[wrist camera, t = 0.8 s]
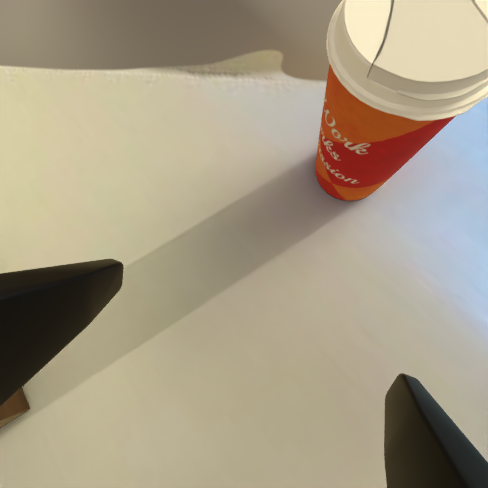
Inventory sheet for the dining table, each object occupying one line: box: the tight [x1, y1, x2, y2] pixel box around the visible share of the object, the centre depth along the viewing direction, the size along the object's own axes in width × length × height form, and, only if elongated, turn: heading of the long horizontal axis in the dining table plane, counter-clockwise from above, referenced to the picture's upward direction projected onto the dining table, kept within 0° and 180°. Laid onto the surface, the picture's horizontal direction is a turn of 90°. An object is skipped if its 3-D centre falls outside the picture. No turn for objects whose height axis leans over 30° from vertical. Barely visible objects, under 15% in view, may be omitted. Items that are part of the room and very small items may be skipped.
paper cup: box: [316, 0, 488, 201], centre depth 18 cm, size 8×8×14 cm
